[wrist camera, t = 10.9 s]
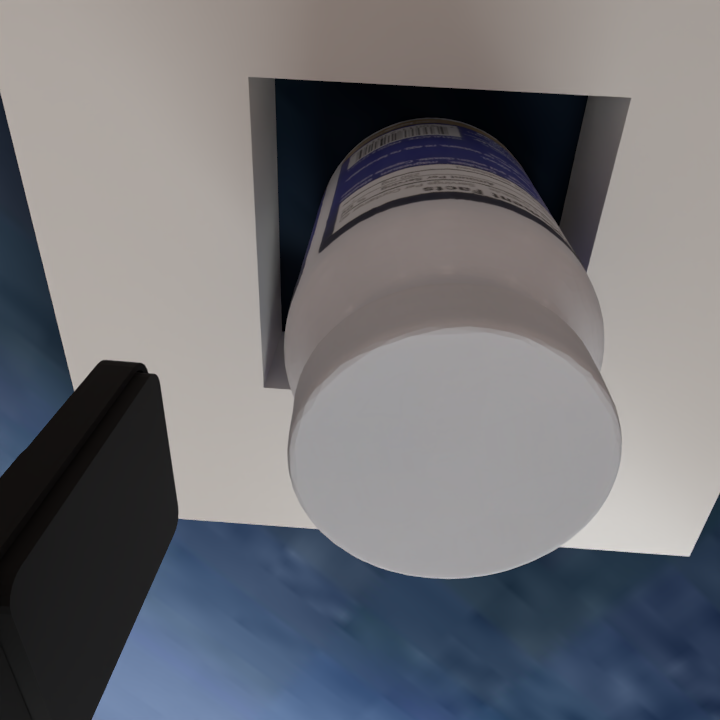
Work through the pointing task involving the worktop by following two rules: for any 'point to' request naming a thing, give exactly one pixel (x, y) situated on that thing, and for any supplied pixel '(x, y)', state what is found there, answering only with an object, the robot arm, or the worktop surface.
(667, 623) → the worktop surface
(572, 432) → the pill bottle
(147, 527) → the robot arm
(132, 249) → the socket block
